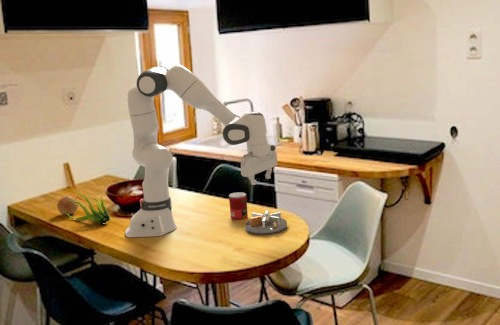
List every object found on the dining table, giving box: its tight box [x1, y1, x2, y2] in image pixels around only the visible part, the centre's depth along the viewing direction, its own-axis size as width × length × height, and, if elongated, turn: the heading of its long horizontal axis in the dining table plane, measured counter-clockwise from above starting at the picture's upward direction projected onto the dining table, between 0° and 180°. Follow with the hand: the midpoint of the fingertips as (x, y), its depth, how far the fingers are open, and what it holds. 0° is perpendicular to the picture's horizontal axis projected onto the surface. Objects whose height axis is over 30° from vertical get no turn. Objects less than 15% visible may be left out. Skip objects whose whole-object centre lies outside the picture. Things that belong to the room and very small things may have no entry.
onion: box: [56, 194, 79, 216], centre depth 266 cm, size 10×10×10 cm
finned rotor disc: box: [249, 209, 282, 228], centre depth 226 cm, size 14×13×4 cm
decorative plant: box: [61, 191, 111, 225], centre depth 254 cm, size 18×30×15 cm, turn 30°
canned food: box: [228, 191, 249, 221], centre depth 242 cm, size 8×8×11 cm
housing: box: [244, 217, 288, 236], centre depth 226 cm, size 18×18×4 cm
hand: (261, 181), depth 223 cm, fingers open, 8 cm apart
